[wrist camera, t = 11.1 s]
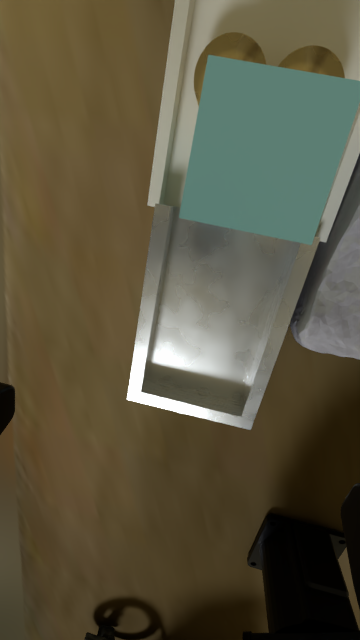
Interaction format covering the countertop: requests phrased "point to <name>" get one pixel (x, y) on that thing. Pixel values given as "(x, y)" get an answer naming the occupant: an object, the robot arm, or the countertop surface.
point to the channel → (213, 316)
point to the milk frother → (102, 634)
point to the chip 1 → (227, 54)
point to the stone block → (334, 284)
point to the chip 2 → (314, 61)
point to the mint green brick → (266, 147)
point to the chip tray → (276, 44)
